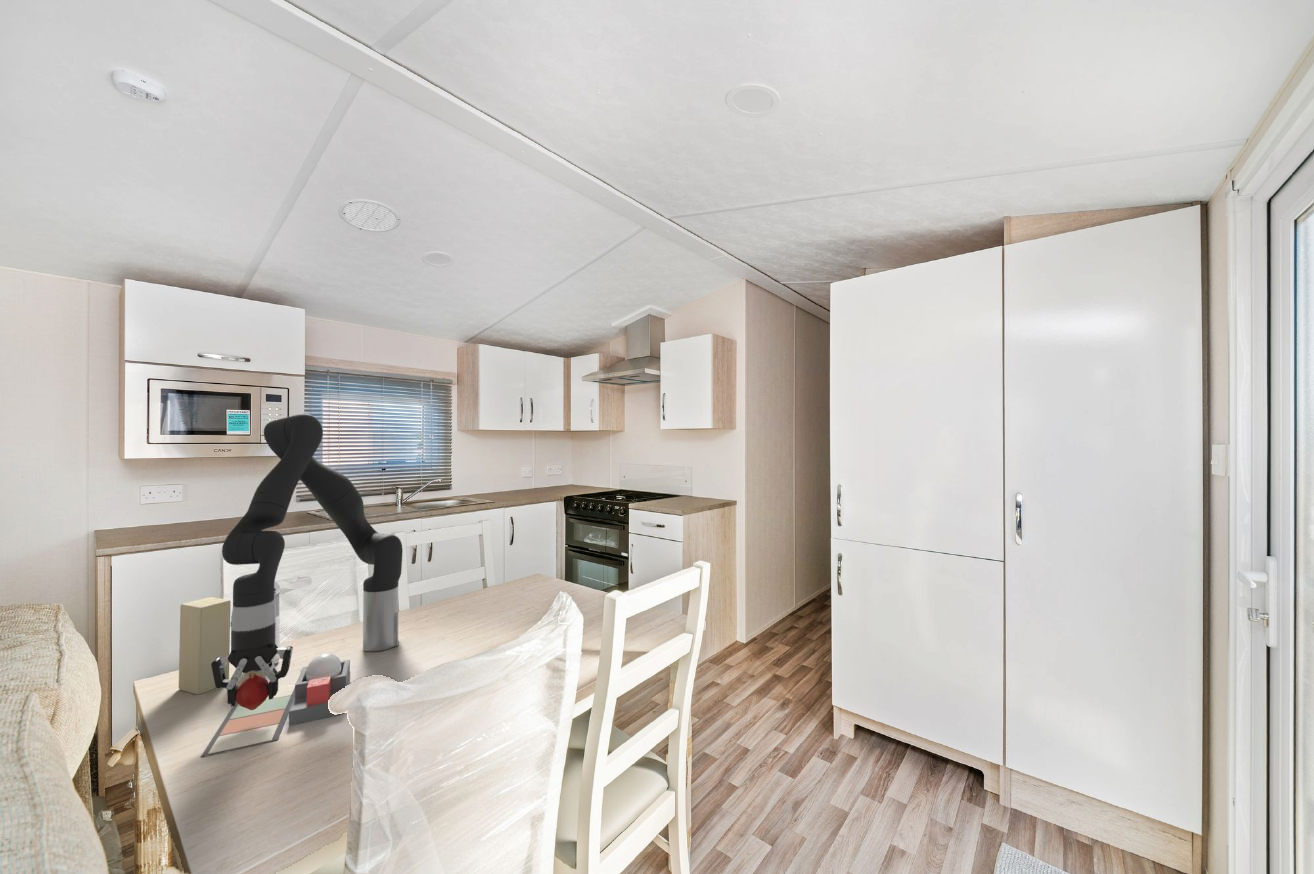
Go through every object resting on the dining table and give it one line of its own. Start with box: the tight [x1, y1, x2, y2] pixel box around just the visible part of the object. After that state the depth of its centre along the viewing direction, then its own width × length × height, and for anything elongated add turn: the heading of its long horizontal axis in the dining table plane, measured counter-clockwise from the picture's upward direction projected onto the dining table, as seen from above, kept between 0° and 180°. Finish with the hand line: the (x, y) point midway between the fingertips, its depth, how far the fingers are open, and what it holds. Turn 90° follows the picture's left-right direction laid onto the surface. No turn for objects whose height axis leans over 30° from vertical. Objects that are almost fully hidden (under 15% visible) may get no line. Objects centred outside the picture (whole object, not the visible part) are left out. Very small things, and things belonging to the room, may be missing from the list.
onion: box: [236, 672, 270, 710], centre depth 109 cm, size 6×6×8 cm
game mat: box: [200, 683, 296, 758], centre depth 112 cm, size 12×27×1 cm, turn 27°
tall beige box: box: [178, 596, 231, 695], centre depth 125 cm, size 8×7×21 cm
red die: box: [307, 676, 331, 706], centre depth 113 cm, size 4×4×4 cm
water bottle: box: [272, 581, 281, 665], centre depth 137 cm, size 7×7×25 cm
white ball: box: [306, 652, 342, 681], centre depth 120 cm, size 7×7×7 cm
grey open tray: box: [288, 659, 351, 726], centre depth 117 cm, size 10×16×6 cm, turn 27°
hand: (253, 700), depth 109 cm, fingers closed on onion, 5 cm apart
